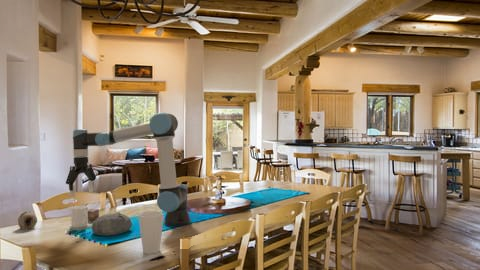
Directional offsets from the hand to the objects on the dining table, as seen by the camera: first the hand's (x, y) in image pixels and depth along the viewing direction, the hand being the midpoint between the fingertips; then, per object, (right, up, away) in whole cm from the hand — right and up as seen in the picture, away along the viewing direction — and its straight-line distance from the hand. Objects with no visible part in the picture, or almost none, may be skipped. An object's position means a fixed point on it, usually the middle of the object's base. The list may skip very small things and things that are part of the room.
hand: (82, 194), depth 199 cm
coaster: (0, -19, 0) cm, 19 cm away
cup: (+49, -20, -40) cm, 66 cm away
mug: (0, -19, 0) cm, 19 cm away
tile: (-1, -19, +16) cm, 24 cm away
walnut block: (-1, -18, +16) cm, 24 cm away
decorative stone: (+21, -19, -9) cm, 30 cm away
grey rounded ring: (-29, -19, -2) cm, 35 cm away
